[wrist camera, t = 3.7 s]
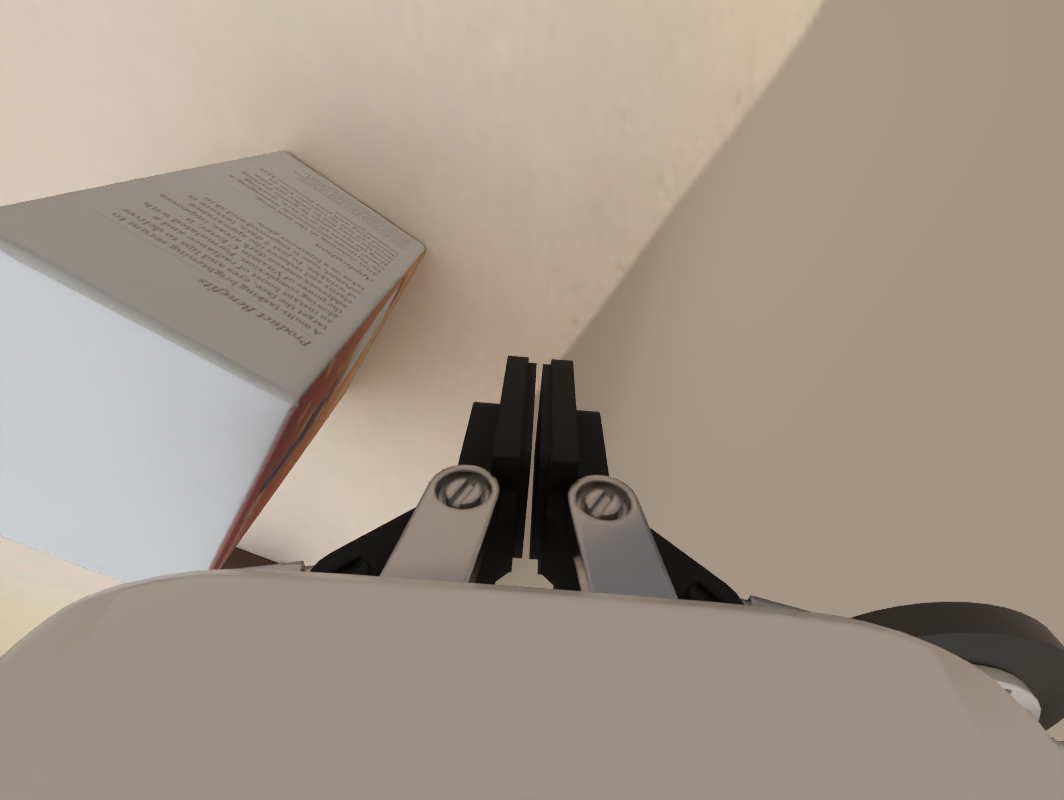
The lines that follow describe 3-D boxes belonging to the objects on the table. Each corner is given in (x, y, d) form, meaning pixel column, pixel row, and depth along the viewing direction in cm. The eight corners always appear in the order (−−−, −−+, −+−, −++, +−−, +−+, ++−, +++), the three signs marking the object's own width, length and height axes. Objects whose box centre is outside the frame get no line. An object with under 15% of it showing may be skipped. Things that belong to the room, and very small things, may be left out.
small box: (345, 394, 21) (190, 617, 12) (217, 324, 19) (-67, 521, 11) (433, 244, 17) (303, 409, 8) (283, 142, 16) (-71, 212, 7)
